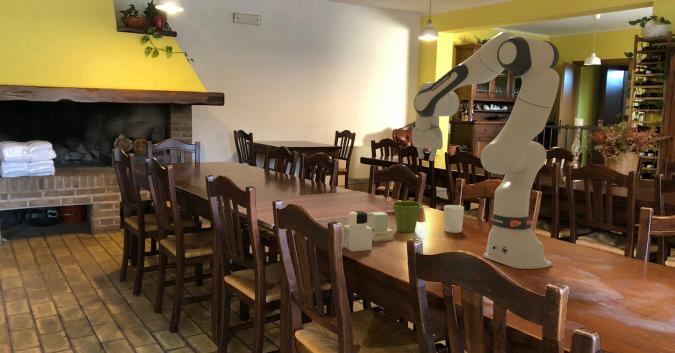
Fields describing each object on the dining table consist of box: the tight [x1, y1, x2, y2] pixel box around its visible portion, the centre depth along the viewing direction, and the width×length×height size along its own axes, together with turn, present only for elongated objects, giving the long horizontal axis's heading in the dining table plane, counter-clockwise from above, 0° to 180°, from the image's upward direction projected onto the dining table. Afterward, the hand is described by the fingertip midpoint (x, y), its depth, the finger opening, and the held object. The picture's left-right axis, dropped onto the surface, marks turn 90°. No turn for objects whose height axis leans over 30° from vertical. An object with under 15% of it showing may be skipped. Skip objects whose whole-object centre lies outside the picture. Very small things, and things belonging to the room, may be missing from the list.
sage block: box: [370, 211, 389, 231], centre depth 201 cm, size 5×5×6 cm
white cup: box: [443, 204, 465, 234], centre depth 216 cm, size 8×8×10 cm
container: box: [343, 210, 373, 252], centre depth 187 cm, size 8×8×13 cm
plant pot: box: [391, 200, 422, 234], centre depth 214 cm, size 12×12×11 cm
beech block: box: [369, 226, 394, 243], centre depth 202 cm, size 8×8×4 cm
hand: (426, 159), depth 211 cm, fingers open, 8 cm apart
